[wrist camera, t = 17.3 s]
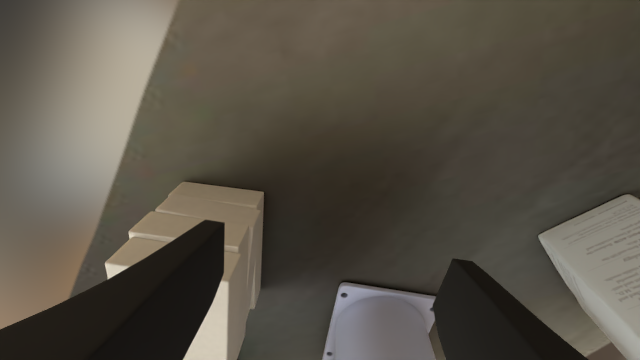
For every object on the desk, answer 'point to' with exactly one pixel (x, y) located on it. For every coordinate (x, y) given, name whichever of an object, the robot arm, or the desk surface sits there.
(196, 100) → the desk surface
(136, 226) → the white book
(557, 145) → the desk surface
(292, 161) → the desk surface
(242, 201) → the white book
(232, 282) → the white book
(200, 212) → the white book
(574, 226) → the cosmetic box
